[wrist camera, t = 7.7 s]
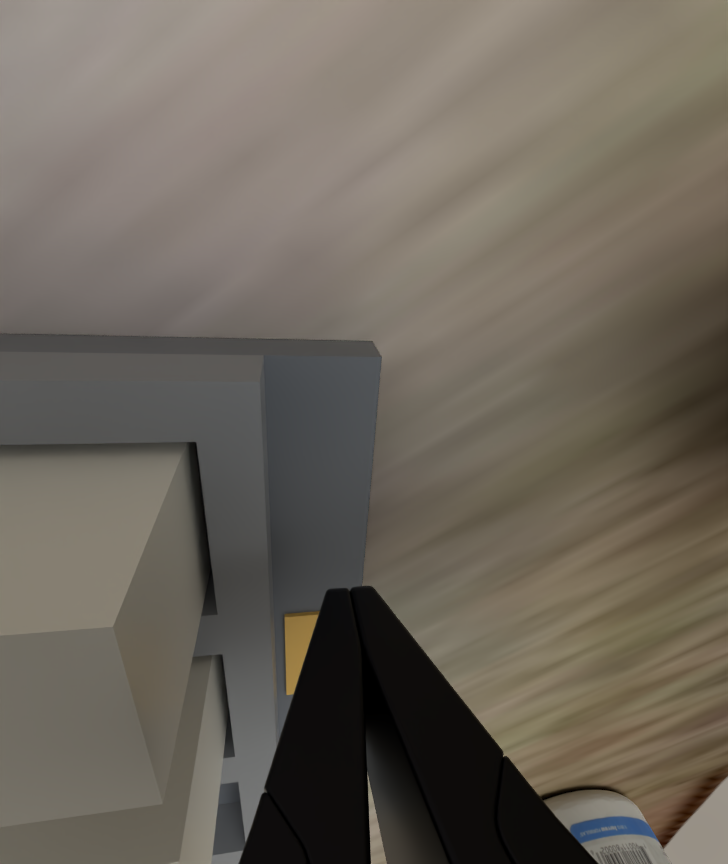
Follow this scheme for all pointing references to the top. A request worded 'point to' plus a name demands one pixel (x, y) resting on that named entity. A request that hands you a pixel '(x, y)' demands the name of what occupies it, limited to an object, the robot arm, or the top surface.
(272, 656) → the grey compartment tray
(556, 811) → the supplement tub
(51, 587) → the beige grey rectangular block
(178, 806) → the light grey block
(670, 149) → the top surface
